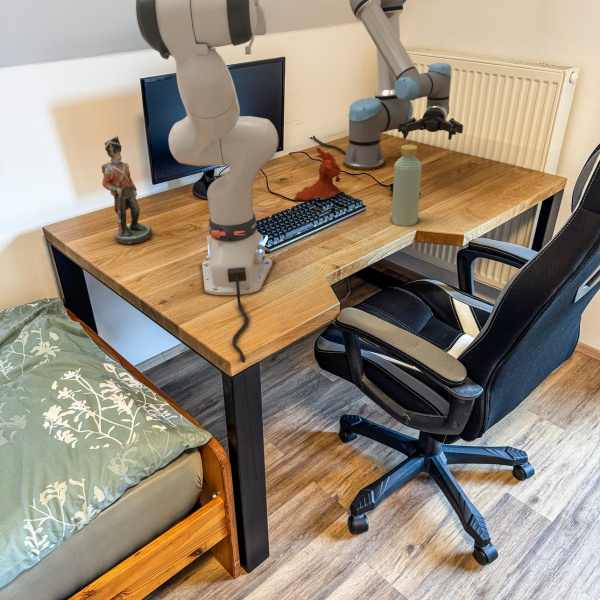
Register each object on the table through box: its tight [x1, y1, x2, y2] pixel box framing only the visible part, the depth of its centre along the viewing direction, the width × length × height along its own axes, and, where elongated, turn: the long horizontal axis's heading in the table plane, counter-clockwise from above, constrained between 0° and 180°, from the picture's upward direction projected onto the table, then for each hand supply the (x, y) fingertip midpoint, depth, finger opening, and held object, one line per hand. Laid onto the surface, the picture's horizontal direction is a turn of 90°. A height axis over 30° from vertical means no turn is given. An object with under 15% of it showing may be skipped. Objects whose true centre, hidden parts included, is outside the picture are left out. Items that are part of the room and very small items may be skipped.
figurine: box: [101, 134, 152, 245], centre depth 160 cm, size 11×11×30 cm
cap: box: [400, 144, 418, 156], centre depth 160 cm, size 5×5×2 cm
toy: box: [294, 147, 342, 202], centre depth 188 cm, size 13×18×15 cm
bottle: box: [391, 154, 423, 227], centre depth 166 cm, size 8×8×22 cm
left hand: (231, 54), depth 151 cm, fingers open, 8 cm apart
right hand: (427, 134), depth 172 cm, fingers open, 13 cm apart
